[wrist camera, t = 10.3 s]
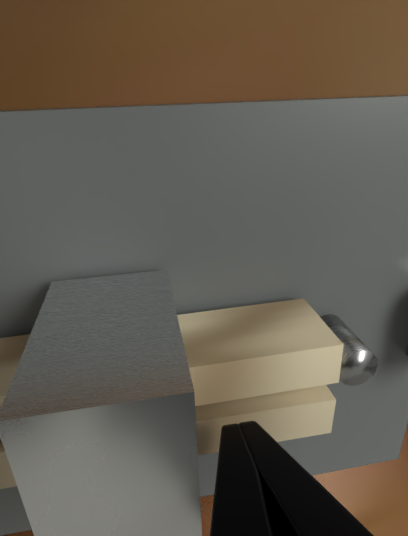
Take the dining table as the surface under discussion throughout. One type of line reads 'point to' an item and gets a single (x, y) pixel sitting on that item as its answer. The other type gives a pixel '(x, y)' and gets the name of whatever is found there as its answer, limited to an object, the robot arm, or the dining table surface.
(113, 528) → the grey rectangular block
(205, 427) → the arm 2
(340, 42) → the dining table surface
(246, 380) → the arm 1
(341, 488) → the dining table surface
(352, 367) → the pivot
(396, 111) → the board
